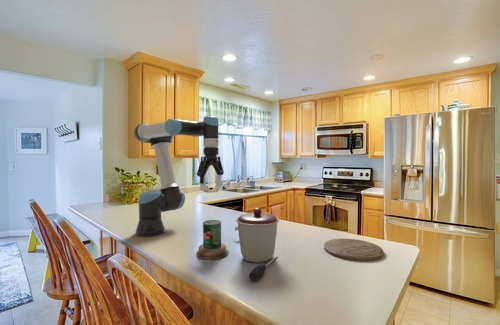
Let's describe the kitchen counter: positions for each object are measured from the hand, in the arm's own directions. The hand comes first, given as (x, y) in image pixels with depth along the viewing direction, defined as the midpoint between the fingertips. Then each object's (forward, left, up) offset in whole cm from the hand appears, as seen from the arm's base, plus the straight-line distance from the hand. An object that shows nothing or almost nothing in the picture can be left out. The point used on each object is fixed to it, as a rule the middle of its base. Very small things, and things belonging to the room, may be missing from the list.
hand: (211, 188), depth 136 cm
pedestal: (+12, -16, -26) cm, 33 cm away
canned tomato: (+12, -16, -24) cm, 31 cm away
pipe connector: (+15, +9, -27) cm, 32 cm away
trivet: (+67, +15, -27) cm, 73 cm away
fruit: (+17, +31, -27) cm, 44 cm away
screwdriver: (+39, -21, -27) cm, 52 cm away
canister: (+32, -12, -27) cm, 43 cm away
